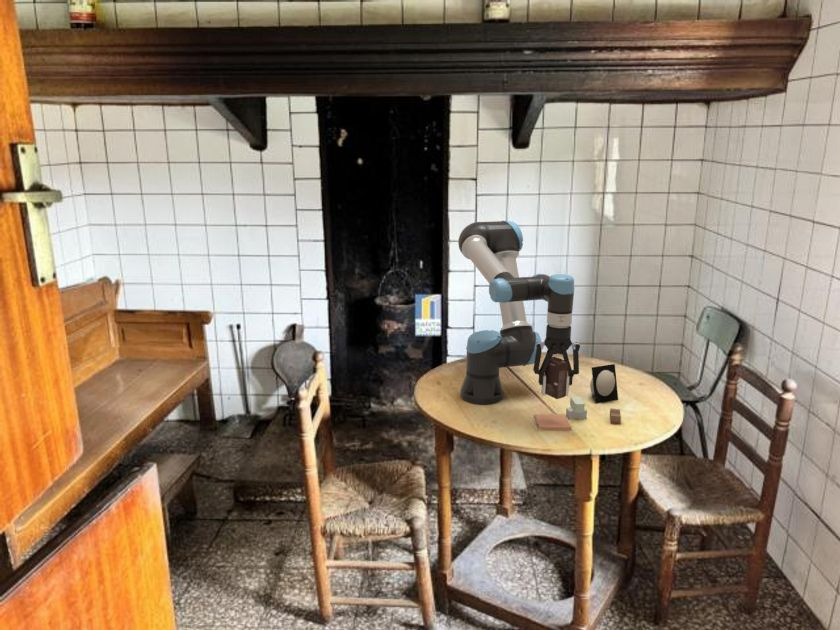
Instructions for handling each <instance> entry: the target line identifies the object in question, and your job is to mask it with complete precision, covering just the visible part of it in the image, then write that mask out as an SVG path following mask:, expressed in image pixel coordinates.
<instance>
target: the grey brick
mask: <svg viewBox="0 0 840 630" xmlns="http://www.w3.org/2000/svg"><path fill="white" fill-rule="evenodd" d="M565 416H566V418H567V420H578V419H579V420H582V419H583V420H584V419H587V416H588V410H587V409H586V407H584V413H575V412H574V411H573V409H572V408H571V406H570V407H566V408H565Z"/></svg>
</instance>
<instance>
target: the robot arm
mask: <svg viewBox="0 0 840 630" xmlns="http://www.w3.org/2000/svg"><path fill="white" fill-rule="evenodd" d="M523 237H524V236H523V232H522V230H521V228H520V226H519V225H518V223H516V222H515V221H510V220H509V221H507V220H498V221H497V220H496V221H476V222H475V221H474V222H472V223H469V224H468V225H466V226H465V227H464V228H463V229H462V231H461V232H460V234H459V237H458V241H457V244H458V249H459V251H460V253H461V254H462V255H463V256H464V257H465V259H467V260H470V261H471V262H472V263H473V265H474V266H475V267H476V269H477V270H478V271H479V272H480V274H481V275H482V276H483V278H484V279H485V280H486V281H487V282H488V284H489V286H488V294H489V296H490V299H491V301H492V302H494V303H499V308H500V315H501V320H502V327H501V328H500V330H499V331H497V330H494V329H493V330H491V329H490V330H489V329H485V330H479V331H476V332H474V333H471V334H470V335H469V336H468V338H467V343H466V367H465V369H466V373H465V377H464V380H463V383H462V386H461V388H460V397H461V398H462V400H464V401H466V402H468V403H470V404H477V405H492V404H497V403H500V402H501V401H502V400H503V398H504V389H503V386H502V382H501V379H500V369H501V368H511V367H512V368H513V367H522V366H523V367H525V366H528V365H530V366H531V365H533V369H532V370H533V373H534V374H535V375H538V385H540V386H541V387H540V388H541V390H540V391H541V392H540V393H541V394H542V396H543V397H544V396H546V394H545V387H546V375H545V371H546V369H547V366H548V364H549V362H550V359H551V357H554V355H562V358H563V360H565V361H567V362H568V366H567V371H568V374H567V382H566V396H565V397H569V391H570V390H569V389H570V386H573V378H574V377H575V375H579V373H580V363H579V362H580V358H579V352H580V348H581V345H580V343H579V342H578V341H577V342H573V341H572V340H571V336H572V326H571V325H572V321H573V320H572V319H573V307H574V295H575V279H574V277H573V276H572V275H569V274H568V275H567V274H564V273H563V274H562V273H561V274H559V273H557V274H556V273H555V274H552V275H550V276H549V275H548V274H543V273H536V274H533V275H532V276H521V277H520V274H519V270H518V263H517V259H518V257H519V255H520V251H521V250H522V248H523V245H524V243H523V241H524V238H523ZM540 300H542V301H545V302H547V312H546V313H547V315H546V323H547V325H546V330H545V332H546V333H545V339H544V341H542V339H541V336H540V334H539V333H538V332H537V331H533V330H534V329H533V325H531V324H530V323H529V322H528V320H527V316H526V310H525V305H524V304H525V303H524V302H527V301H529V302H530V301H540ZM544 347H545V348H547V351H546V353H545V357H544V359H543V360H542V363H541V358H542V351H543V349H544ZM570 347H571V349H572V363H573V364H572V365H573V366H571V361H570V360H569V355H568V352H567V351H568V350H569V349H570ZM540 365H541V366H540ZM572 367H573V369H572Z"/></svg>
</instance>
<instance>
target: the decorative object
mask: <svg viewBox="0 0 840 630" xmlns="http://www.w3.org/2000/svg"><path fill="white" fill-rule="evenodd" d="M591 374H592V375H591V376H592V378H591V380H590V385H589V388H590V392H591V394H592V396H594V397H593V398H594V404H595V405H597V404H601V403H603V404H604V403H608V402H614V401H618V400H619V393H618V383H617V382H618V381H617V371H616V363H612V364H606V365H605V364H604V365H598V366H592V367H591Z"/></svg>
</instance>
